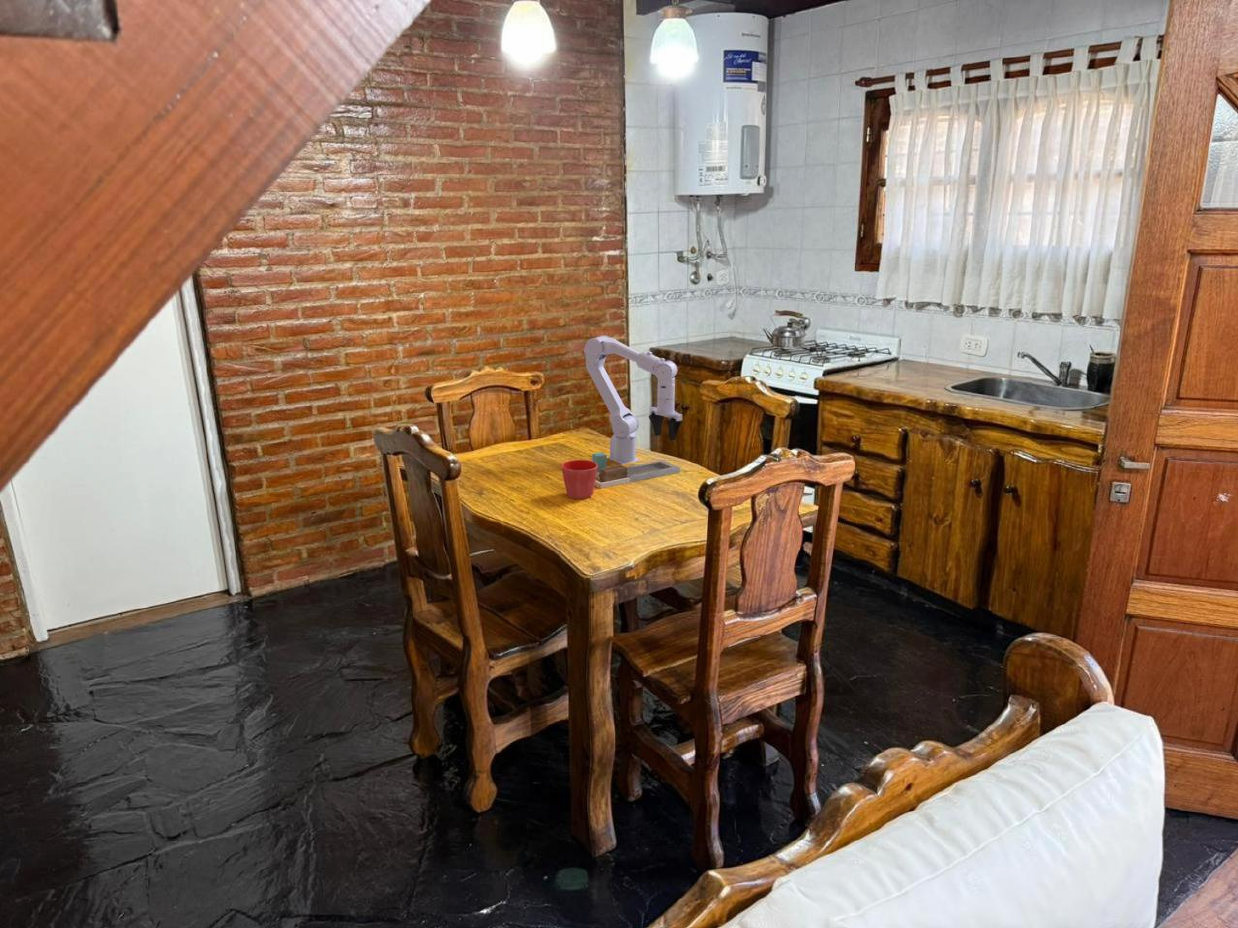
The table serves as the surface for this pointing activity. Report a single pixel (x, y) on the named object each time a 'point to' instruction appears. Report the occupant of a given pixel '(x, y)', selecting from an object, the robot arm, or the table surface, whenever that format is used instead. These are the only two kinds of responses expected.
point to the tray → (611, 482)
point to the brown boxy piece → (607, 474)
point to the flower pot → (579, 478)
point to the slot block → (651, 470)
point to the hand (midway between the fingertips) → (665, 437)
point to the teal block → (600, 460)
